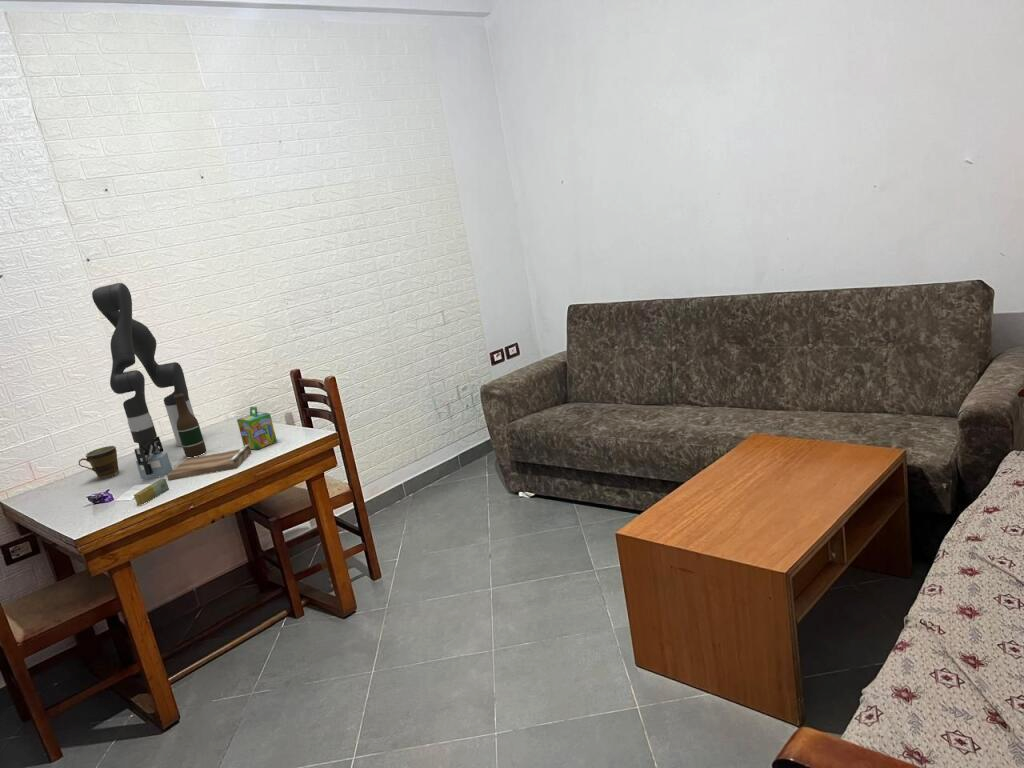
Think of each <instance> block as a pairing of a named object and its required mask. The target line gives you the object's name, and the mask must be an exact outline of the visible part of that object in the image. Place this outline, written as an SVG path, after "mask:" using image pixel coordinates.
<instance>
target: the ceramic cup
mask: <svg viewBox="0 0 1024 768" xmlns="http://www.w3.org/2000/svg"><path fill="white" fill-rule="evenodd" d="M85 457H86V458H83V457H82V458H81V459H79V460H78V465H79V467H81V468H82V467H83V468H85V469H88V470H90V471H93V472H94V473H95V474H96V477H97V478H98V479H99V480H101V479H102V480H106V479H105V478H108V479H110V478H109V477H111V478H113V477H116V476H117V475H119V474H120V473H119V472H120V471H119V470H120V469H119V462H118V454H117V447H116V446H115V445H107V446H103V447H99V448H96V449H92V450H91V451H89V452H87V453H86V454H85ZM82 461H86V462H87V463H89V464H90V466H91V467H88V466H85V465H81V462H82ZM118 473H119V474H118ZM116 474H117V475H116ZM115 475H116V476H115ZM112 476H113V477H112Z"/></svg>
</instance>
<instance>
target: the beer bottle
mask: <svg viewBox="0 0 1024 768" xmlns="http://www.w3.org/2000/svg"><path fill="white" fill-rule="evenodd" d="M174 399H175V401H176V405H177V410H178V416H179V417H178V420H177V430H178V433H179V437H180V440H181V443H182V446H181V447H182V449H183V453H184V456H185V457H186V458H187V457H194V456H198V455H201V454H203V453H205V452H206V453H207V448H206V444H205V440H204V437H203V434H202V431H201V427H200V424H199V420H198V419H197V417H196V416H195V414H194V415H192V414H191V413H190V411H189V409H188V407H187V404H186V401H185V399H184V394H183V393H180V394H176V395H174ZM206 453H205V454H206ZM203 455H204V454H203ZM201 456H202V455H201ZM198 457H199V456H198ZM194 458H195V457H194Z"/></svg>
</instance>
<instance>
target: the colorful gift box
mask: <svg viewBox="0 0 1024 768" xmlns="http://www.w3.org/2000/svg"><path fill="white" fill-rule="evenodd" d="M253 411H254V413H253ZM272 420H273V419H272V417H271V414H270V413H269V412H261V411H258V407H257V406H250V407H249V415H246V416H242V417H240V418H236V422H237V425H238V429H239V433H240V437H241V440H242V445H243V447H244V446H245V445H249V448H250V449H251V450H253V449H254V451H258V450H260V448H261V449H263V448H265V447H267V446H268V447H269V446H271V445H273V444H275V443H274V442H276V441H277V442H278V440H277V436H276V432H275V428H274V424H273V421H272ZM277 442H276V443H277ZM272 443H273V444H272Z"/></svg>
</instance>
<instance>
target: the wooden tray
mask: <svg viewBox="0 0 1024 768" xmlns="http://www.w3.org/2000/svg"><path fill="white" fill-rule="evenodd" d="M251 452H252V449H250V448H249V445H245V446H244V445H243V447H241V448H240V449H235V450H229V451H224V452H217V453H212V454H208V455H201V456H198V457H194V458H185V459H184V460H183V461H182V462H180V463H179V464H178V465H177V466H176V467H174V468H172V471H171V472H170V473H169V474H167V476H166V477H167V481H173V480H179V479H184V478H189V476H191V477H195V475H196V476H200V474H202V475H205V474H204V473H207V474H211V473H210V472H213V473H217V472H216V471H219V472H222V471H221V470H224V471H228V470H227V469H230V470H233V469H234V468H235V469H237V468H238V467H239V466H240V465H241V464H242V463H243V462H244V461H246V459H248V457H249V456H250V455H251V454H252V453H251ZM250 453H251V454H250ZM249 454H250V455H249ZM248 455H249V456H248ZM235 469H234V470H235Z"/></svg>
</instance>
